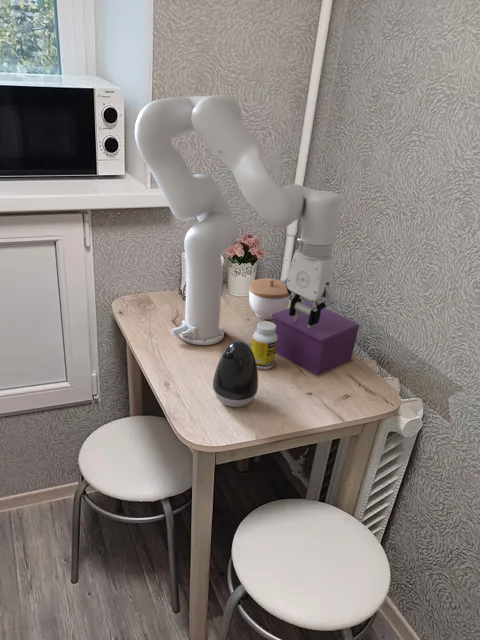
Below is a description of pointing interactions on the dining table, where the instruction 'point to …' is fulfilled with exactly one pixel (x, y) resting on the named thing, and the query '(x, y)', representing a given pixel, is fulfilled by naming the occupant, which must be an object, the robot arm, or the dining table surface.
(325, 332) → the file box lid
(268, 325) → the pill bottle
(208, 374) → the dining table surface
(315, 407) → the dining table surface
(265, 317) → the lidded bowl
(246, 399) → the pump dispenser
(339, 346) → the box
